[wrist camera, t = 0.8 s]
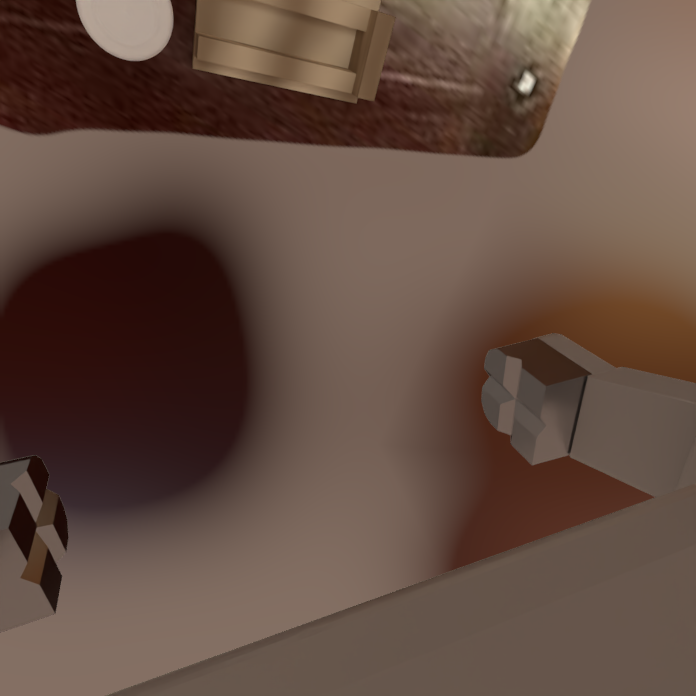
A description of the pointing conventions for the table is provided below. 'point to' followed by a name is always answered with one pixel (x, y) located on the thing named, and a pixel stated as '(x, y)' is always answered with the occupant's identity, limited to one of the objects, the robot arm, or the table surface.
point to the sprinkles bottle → (128, 26)
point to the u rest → (295, 44)
